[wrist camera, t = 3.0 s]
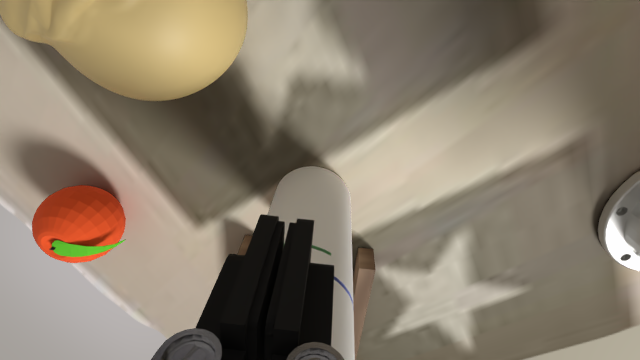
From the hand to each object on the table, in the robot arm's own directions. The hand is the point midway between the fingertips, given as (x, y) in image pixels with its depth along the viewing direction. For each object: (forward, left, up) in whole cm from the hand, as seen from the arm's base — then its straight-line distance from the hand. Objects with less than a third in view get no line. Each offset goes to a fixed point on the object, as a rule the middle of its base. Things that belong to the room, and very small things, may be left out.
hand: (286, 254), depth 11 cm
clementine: (+20, +13, -19) cm, 31 cm away
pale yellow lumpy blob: (+11, -6, -19) cm, 23 cm away
